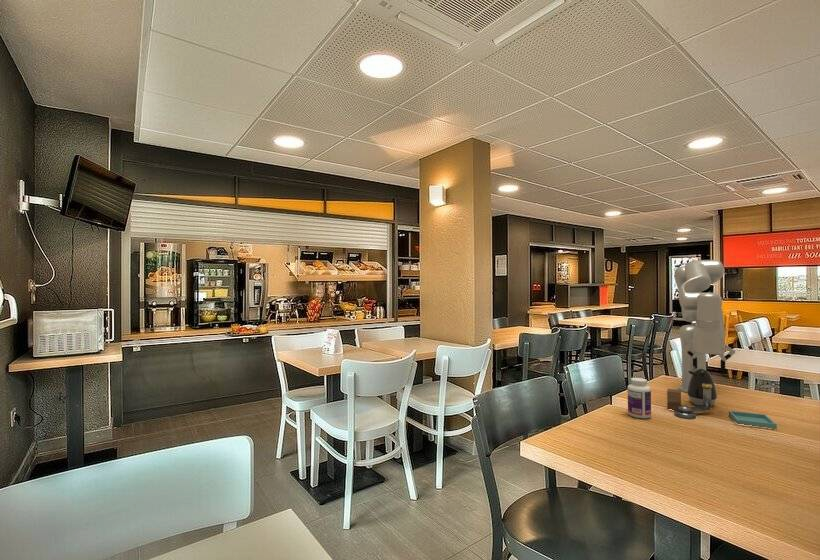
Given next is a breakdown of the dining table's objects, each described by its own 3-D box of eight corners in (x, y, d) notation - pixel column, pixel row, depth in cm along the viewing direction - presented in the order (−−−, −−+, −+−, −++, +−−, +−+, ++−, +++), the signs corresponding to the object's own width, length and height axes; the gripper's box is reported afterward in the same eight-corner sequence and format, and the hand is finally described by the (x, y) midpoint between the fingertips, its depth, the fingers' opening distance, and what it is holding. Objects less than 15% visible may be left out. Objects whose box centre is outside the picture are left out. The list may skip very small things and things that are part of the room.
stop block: (680, 412, 164) (680, 392, 164) (667, 410, 167) (667, 390, 167) (681, 409, 168) (680, 390, 168) (668, 407, 170) (667, 388, 170)
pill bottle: (645, 412, 164) (645, 377, 164) (655, 419, 156) (655, 382, 156) (624, 412, 165) (624, 376, 165) (633, 419, 157) (632, 381, 157)
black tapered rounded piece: (681, 400, 179) (681, 366, 179) (706, 401, 179) (705, 366, 179) (697, 408, 169) (696, 371, 169) (722, 408, 169) (722, 371, 169)
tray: (728, 416, 159) (728, 410, 159) (765, 420, 154) (765, 414, 154) (737, 425, 149) (737, 419, 149) (776, 430, 144) (776, 424, 144)
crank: (685, 413, 157) (684, 387, 157) (676, 410, 161) (675, 385, 161) (715, 410, 161) (715, 385, 161) (705, 407, 165) (705, 382, 165)
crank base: (672, 412, 164) (672, 408, 164) (693, 414, 161) (693, 410, 161) (675, 417, 158) (675, 413, 158) (697, 420, 155) (697, 416, 155)
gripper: (681, 324, 163) (682, 368, 164) (737, 327, 153) (737, 374, 153) (682, 322, 170) (682, 365, 170) (735, 325, 159) (736, 370, 160)
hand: (708, 369), depth 162 cm, fingers open, 7 cm apart
